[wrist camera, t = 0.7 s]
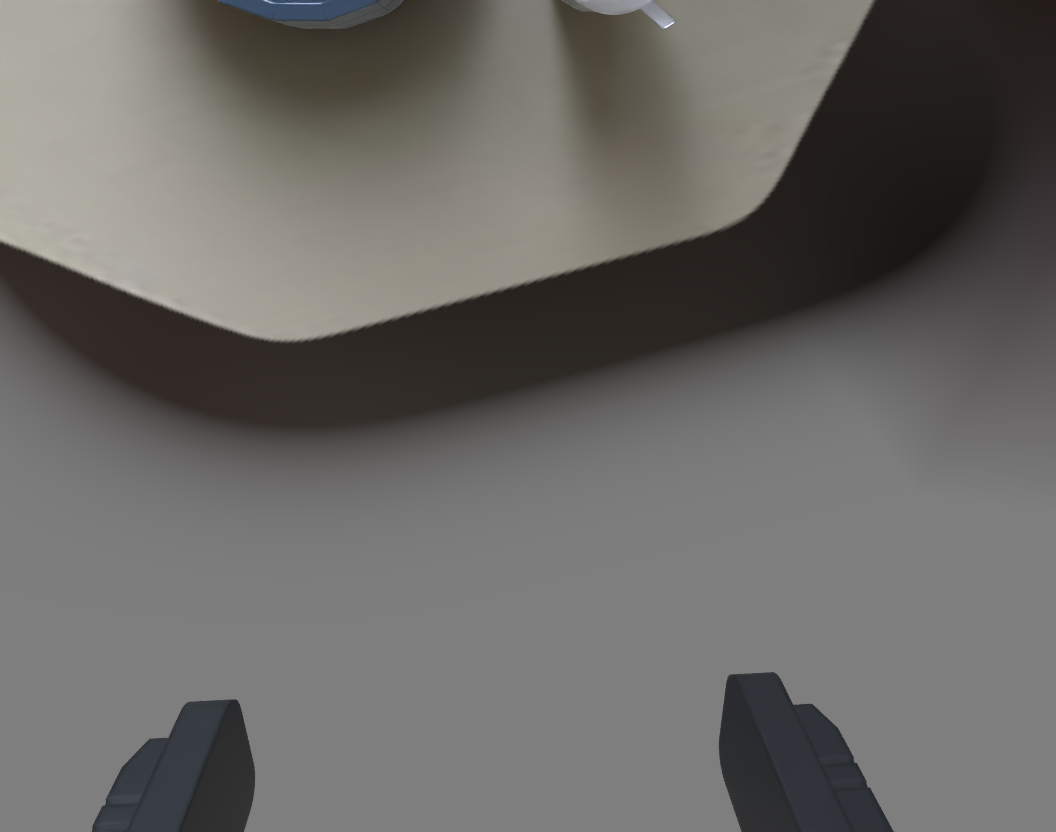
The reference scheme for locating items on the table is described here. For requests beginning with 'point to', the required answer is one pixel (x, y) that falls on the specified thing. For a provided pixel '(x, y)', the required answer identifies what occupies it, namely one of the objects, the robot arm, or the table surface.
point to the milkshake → (624, 9)
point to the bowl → (316, 11)
